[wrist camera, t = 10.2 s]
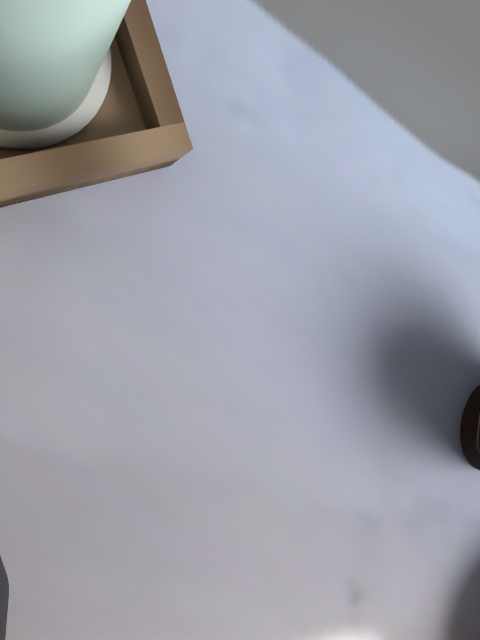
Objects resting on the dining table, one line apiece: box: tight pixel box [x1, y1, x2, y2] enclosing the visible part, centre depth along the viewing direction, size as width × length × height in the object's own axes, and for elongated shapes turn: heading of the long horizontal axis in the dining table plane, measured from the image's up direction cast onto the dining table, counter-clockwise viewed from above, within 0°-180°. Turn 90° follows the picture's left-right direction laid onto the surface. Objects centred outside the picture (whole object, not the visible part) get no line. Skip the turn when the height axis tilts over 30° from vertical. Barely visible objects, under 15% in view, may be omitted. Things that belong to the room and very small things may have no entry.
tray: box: [0, 0, 193, 207], centre depth 15 cm, size 10×10×3 cm
